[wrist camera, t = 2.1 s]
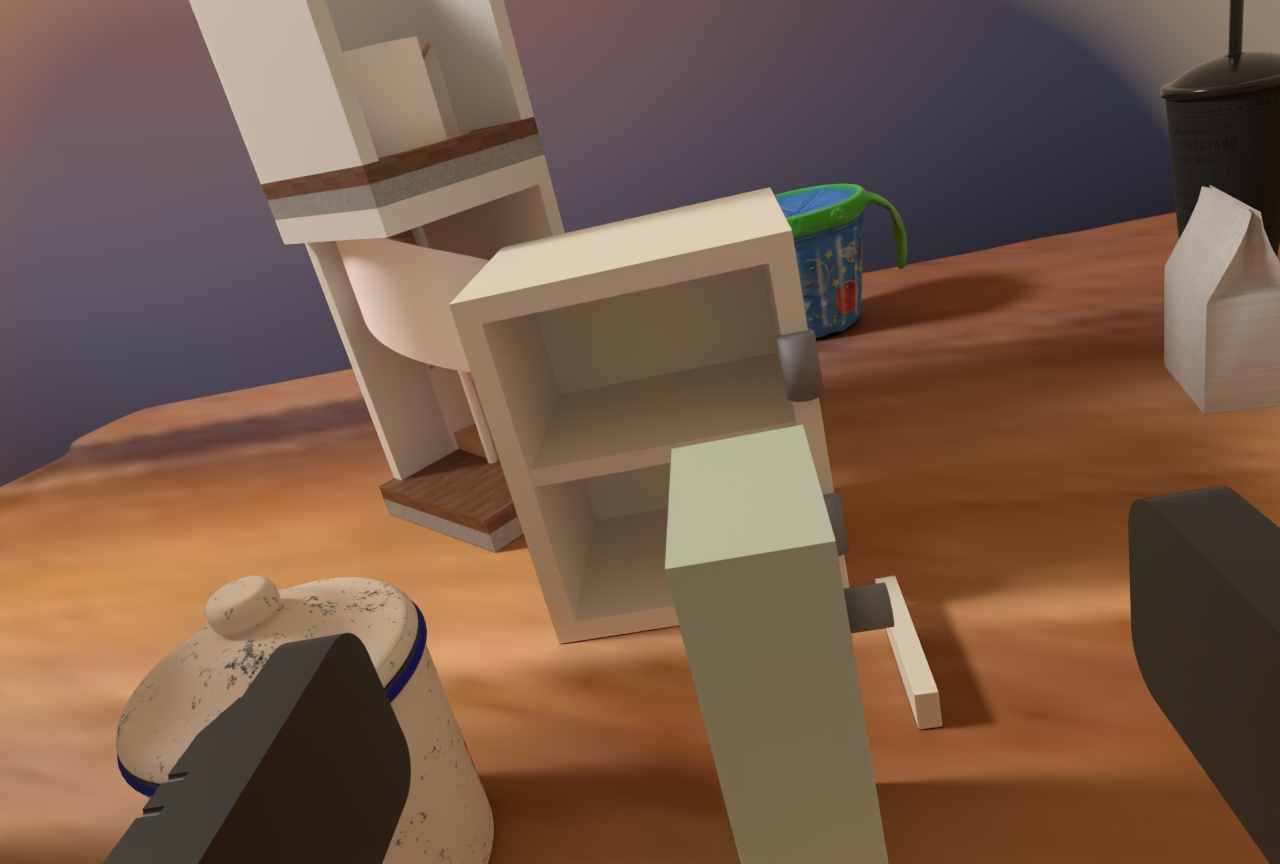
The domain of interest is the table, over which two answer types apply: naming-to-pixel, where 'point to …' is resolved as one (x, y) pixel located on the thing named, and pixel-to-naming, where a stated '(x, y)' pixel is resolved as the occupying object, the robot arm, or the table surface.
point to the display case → (397, 208)
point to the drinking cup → (1228, 130)
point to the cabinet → (645, 397)
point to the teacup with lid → (266, 618)
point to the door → (775, 648)
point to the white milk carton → (1223, 308)
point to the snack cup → (833, 250)
